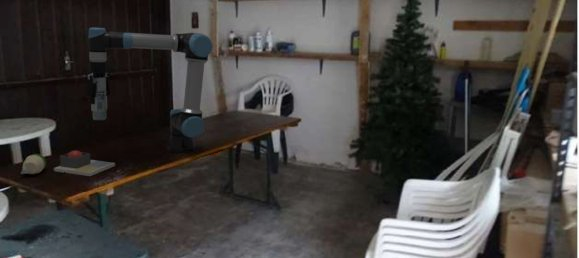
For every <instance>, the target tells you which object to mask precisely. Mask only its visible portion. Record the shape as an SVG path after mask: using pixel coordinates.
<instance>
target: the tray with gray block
mask: <svg viewBox="0 0 579 258" xmlns="http://www.w3.org/2000/svg"><path fill="white" fill-rule="evenodd" d="M80 152H81V151H80ZM69 153H70V152H68V153H66V154H62V155H59V166H56V167H54V168H53V171H54V172H57V173H64V172H65V174H71V175H72V174H73V175H79V176H86V177H91V176H94V175H96V174H99V173H101V172H104V171H106V170H108V169H111V168H113V167H115V166H116V162H109V161H104V160H97V159H96V160H95V159H91V153H88V152H81V153H82V155H83V156H80V157H78V158H73V157H67V156H68V154H69Z"/></svg>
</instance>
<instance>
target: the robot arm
mask: <svg viewBox="0 0 579 258" xmlns="http://www.w3.org/2000/svg"><path fill="white" fill-rule="evenodd" d="M87 38H88V54H89V55H88V57H89V63H88V64H89V70H91V72H90V74H86V76H85V77H86V97H88V98H90V100H89V101H90V107H91V108H90V109H91V112H93V111H97V97H95V96H96V91H97V83H98V81H97V82H96V83H93V78H100V77H106V110H108V101H109V100H108V96H110V94H111V92H112V91H111V83H110V81H111V79H110V75H111V74H110V72H106V70H107V69H108V68H107V65H108V64H107V49H111V50H112V49H114V50H115V49H116V50H130V49H146V50H147V49H148V50H168V51H169V50H170V51H172V52H175V53H183V54H185V55H184V56H185V57H184V58H185V60H186V61H187V66H186V77H185V86H184V87H185V88H184V98H183V107H182V108H174V109H171V110H170V114H169V117H170V118H169V123H170V128H169V129H170V137H169V139H168V144H167V151H168V152H172V153H177V154H178V152H181V153H182V152H184V153H191V152H194V151H196V144H195V140H194V138H197V137H199V136H200V135H202V133H203V132H204V129H205V122H204V120H203V111H202V110H201V102H202V92H203V90H202V89H203V84H204V83H203V82H204V72H205V71H204V70H205V64H206V63H207V62H208V61H209V55H210V54H211V52H212V51H213V43H212V40H211V39H210V37H209V36H208V35H206V34H204V33H199V32H187V33H173V34H153V33H138V32H121V31H120V32H119V31H118V32H117V31H107V29H106V28H105V27H89V29H88V37H87Z"/></svg>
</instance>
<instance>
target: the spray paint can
mask: <svg viewBox="0 0 579 258" xmlns="http://www.w3.org/2000/svg"><path fill="white" fill-rule="evenodd" d="M97 81H98V83H97V91H96V96H95V97H97V111H92V120H93V121H105V120H107V119H108V118H107V116H108V115H107V114H108V113H107V109H106V77H100V78H93V83H96V82H97Z"/></svg>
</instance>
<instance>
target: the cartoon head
mask: <svg viewBox="0 0 579 258" xmlns="http://www.w3.org/2000/svg"><path fill="white" fill-rule="evenodd" d="M46 166H47V161H46V158H45V157H44V156H43V155H42V154H39V153H33V154H30V155H29V156H27V157H26V158H25V160H24V161H23V164H22V167H21V172H20V175H24V174H26V175H27V174H28V175H35V174H37V175H38V174H39V173H41V172H42V171H43V170H44V169H45V168H46Z"/></svg>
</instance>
